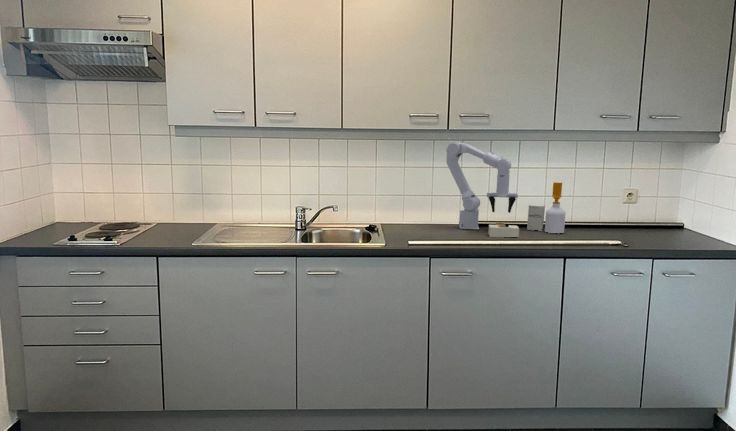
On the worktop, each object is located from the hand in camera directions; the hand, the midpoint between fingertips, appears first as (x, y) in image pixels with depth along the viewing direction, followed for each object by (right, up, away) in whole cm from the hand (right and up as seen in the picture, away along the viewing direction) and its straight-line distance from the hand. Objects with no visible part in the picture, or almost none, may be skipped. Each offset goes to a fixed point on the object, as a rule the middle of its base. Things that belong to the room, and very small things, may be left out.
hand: (501, 212), depth 267 cm
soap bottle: (+26, -10, +1) cm, 28 cm away
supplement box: (+19, -9, +8) cm, 22 cm away
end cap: (-1, -11, -10) cm, 15 cm away
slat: (0, -10, 0) cm, 10 cm away
